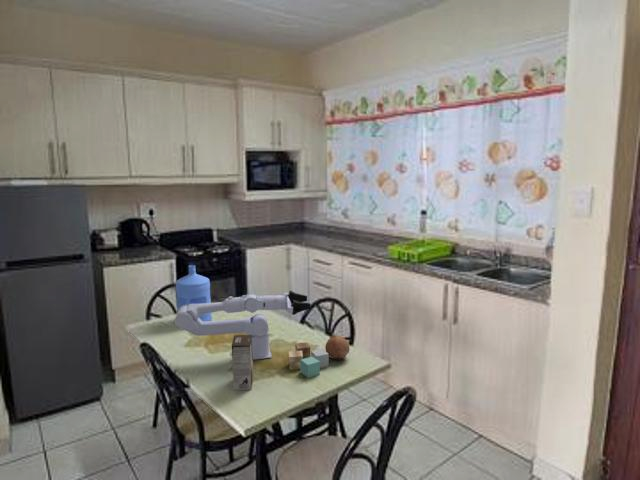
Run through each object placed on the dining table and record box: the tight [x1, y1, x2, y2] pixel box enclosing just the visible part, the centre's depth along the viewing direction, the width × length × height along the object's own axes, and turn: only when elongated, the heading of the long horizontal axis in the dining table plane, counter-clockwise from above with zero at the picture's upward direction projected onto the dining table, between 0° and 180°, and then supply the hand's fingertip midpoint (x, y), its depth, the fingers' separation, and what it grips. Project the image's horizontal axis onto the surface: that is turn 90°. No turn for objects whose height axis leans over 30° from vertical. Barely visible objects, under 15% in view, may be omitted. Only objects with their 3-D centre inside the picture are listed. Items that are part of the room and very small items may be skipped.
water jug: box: [175, 264, 213, 322], centre depth 209 cm, size 16×16×28 cm
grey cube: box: [310, 348, 330, 369], centre depth 165 cm, size 5×5×5 cm
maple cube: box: [288, 350, 303, 370], centre depth 164 cm, size 5×5×5 cm
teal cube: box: [300, 356, 321, 379], centre depth 159 cm, size 5×5×5 cm
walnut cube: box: [294, 342, 311, 359], centre depth 172 cm, size 5×5×5 cm
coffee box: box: [231, 334, 254, 391], centre depth 150 cm, size 9×6×16 cm
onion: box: [324, 334, 350, 361], centre depth 171 cm, size 10×9×10 cm
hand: (308, 302), depth 175 cm, fingers open, 7 cm apart
